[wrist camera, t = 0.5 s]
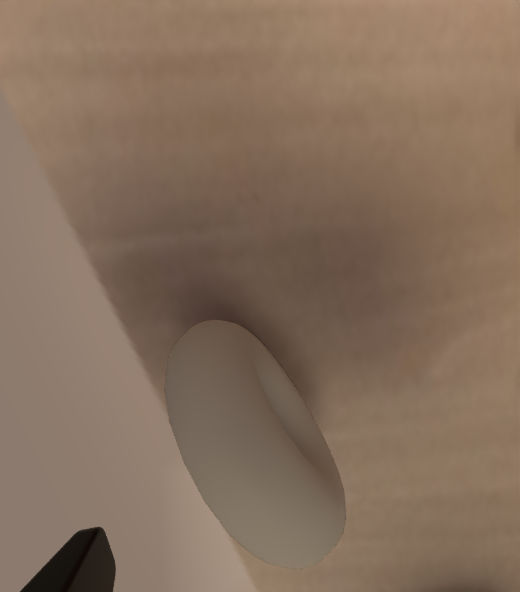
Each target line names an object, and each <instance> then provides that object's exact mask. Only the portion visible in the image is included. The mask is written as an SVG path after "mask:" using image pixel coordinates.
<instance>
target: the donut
mask: <svg viewBox="0 0 520 592" xmlns="http://www.w3.org/2000/svg"><path fill="white" fill-rule="evenodd" d="M164 391H165V397H166V403H167V409H168V415H169V422H170V425H171V427H172V430H173V433H174V436H175V439H176V441H177V444H178V447H179V450H180V453H181V456H182V459H183V461H184V463H185V465H186V467H187V469H188V471H189V473H190V475H191V477H192V478H193V480H194V482H195V484H196V486H197V488H198V490H199V492H200V494H201V496H202V497H203V499H204V501H205V503H206V504H207V505H208V507H209V508H210V509H211V511H212V512H213V513H214V515H215V516H216V517H217V519H218V520H219V521H220V523H221V524H222V525H223V527H224V528H225V529H226V531H227V532H228V533H229V535H230V536H231V537H232V538H233V539H235V540H236V541H237V542H238V543H239V544H241V545H242V546H243V547H244V548H245V549H246V550H248V551H249V552H250V553H251V554H252V555H254V556H255V557H257V558H259V559H260V560H262V561H264V562H266V563H269V564H273V565H276V566H280V567H284V568H291V569H304V568H307V567H310V566H313V565H316V564H317V563H318V562H319V561H320V560H321V559H323V558H324V557H325V556H326V555H327V554H328V553H329V552H330V551H331V550H332V549H333V548H334V547H335V546H336V544H337V542H338V541H339V539H340V537H341V535H342V534H343V530H344V525H345V520H346V507H345V495H344V488H343V485H342V482H341V478H340V475H339V471H338V469H337V467H336V464H335V462H334V459H333V457H332V454H331V452H330V450H329V448H328V446H327V444H326V441H325V439H324V437H323V435H322V433H321V431H320V429H319V427H318V425H317V424H316V422H315V420H314V418H313V416H312V415H311V413H310V411H309V409H308V407H307V406H306V404H305V402H304V401H303V399H302V398H301V396H300V394H299V393H298V391H297V389H296V388H295V386H294V385H293V383H292V382H291V380H290V379H289V377H288V376H287V374H286V373H285V372H284V370H283V369H282V367H281V366H280V364H279V363H278V362H277V361H276V359H275V358H274V357H273V355H272V354H271V353H270V352H269V350H268V349H267V348H266V347H265V346H264V345H263V344H262V343H261V342H260V341H259V339H258V338H257V337H256V336H254V335H253V334H252V333H250V332H249V331H248V330H246V329H245V328H243V327H242V326H240V325H238V324H237V323H232V322H228V321H222V320H207V321H202V322H200V323H198V324H196V325H194V326H192V327H191V328H190V329H189V330H188V331H187V332H186V333H185V334H183V336H182V337H181V338H180V339H179V340H178V341H177V342H176V344H175V345H174V347H173V349H172V350H171V352H170V354H169V357H168V364H167V372H166V380H165V388H164Z"/></svg>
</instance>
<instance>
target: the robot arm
mask: <svg viewBox="0 0 520 592" xmlns="http://www.w3.org/2000/svg"><path fill="white" fill-rule="evenodd" d="M115 571H116V567H115V560H114V557H113V554H112V551H111V548H110V545H109V542H108V539H107V536H106V534H105V531H104V530H103V528H101V527H94V528H89V529H85V530H80V531H78V532H77V533H76V534H74V535H73V536H72V537H71V538H70V540H69V541H68V542H67V543H66V544H65V545H64V546H63V547H62V548H61V549H60V550H59V551H58V552H57V553H56V554H55V555H54V556H53V557H52V558H51V559H50V561H49V562H48V563H47V564H46V565H45V566H44V567H43V568H42V569H41V570H40V571H39V572H38V573H37V574H36V575H35V576H34V577H33V578H32V579H31V581H30V582H29V583H28V584H27V585H26V586H25V587H24V588H23V589H22V590H21V591H20V592H113V587H114V580H115Z"/></svg>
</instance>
